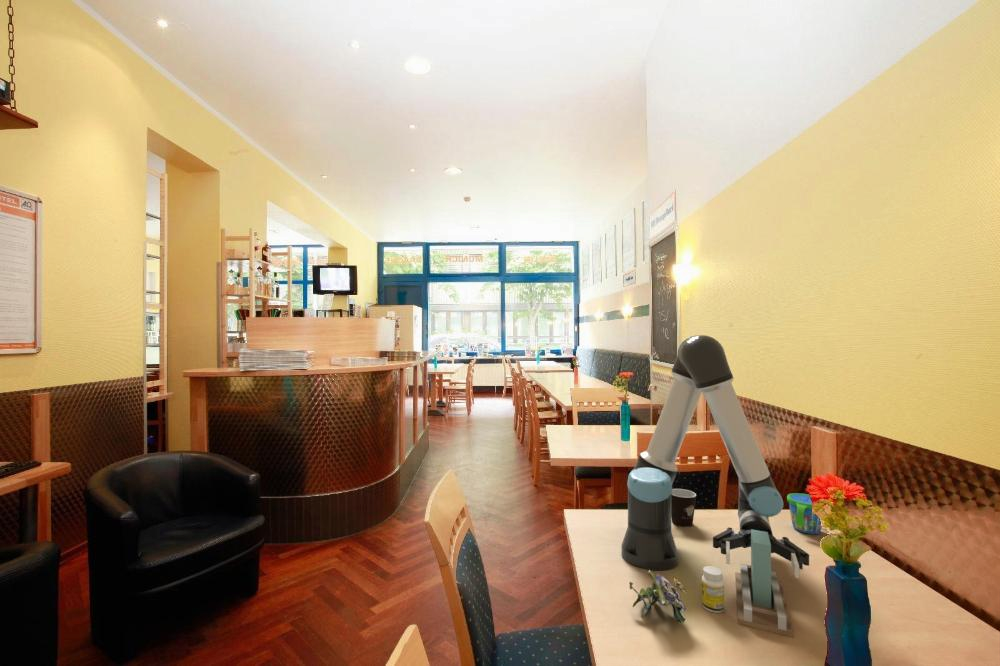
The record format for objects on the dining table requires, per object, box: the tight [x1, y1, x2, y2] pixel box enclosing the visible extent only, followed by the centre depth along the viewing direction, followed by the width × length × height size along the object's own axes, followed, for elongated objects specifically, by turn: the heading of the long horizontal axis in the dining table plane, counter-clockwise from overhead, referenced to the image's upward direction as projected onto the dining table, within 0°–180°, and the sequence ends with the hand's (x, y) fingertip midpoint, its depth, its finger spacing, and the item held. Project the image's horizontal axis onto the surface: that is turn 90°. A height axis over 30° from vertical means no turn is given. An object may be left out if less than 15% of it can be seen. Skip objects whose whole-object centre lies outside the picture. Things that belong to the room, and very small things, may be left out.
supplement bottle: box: [701, 565, 725, 614], centre depth 103 cm, size 5×5×8 cm
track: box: [735, 563, 794, 638], centre depth 105 cm, size 22×10×4 cm, turn 154°
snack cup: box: [786, 492, 823, 535], centre depth 146 cm, size 16×10×10 cm
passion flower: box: [628, 569, 687, 625], centre depth 100 cm, size 11×11×12 cm
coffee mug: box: [671, 488, 697, 528], centre depth 151 cm, size 12×9×10 cm
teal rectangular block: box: [750, 529, 772, 609], centre depth 106 cm, size 8×4×14 cm, turn 154°
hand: (761, 564), depth 103 cm, fingers open, 13 cm apart
